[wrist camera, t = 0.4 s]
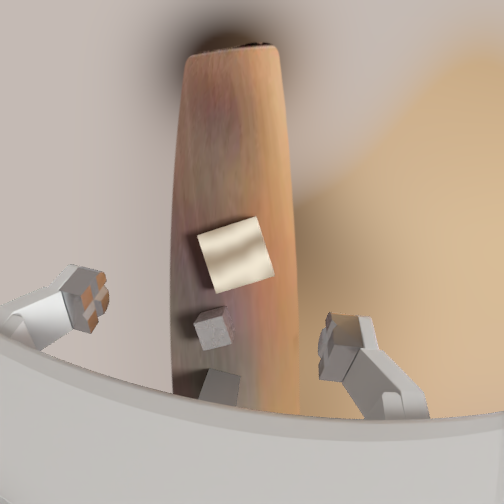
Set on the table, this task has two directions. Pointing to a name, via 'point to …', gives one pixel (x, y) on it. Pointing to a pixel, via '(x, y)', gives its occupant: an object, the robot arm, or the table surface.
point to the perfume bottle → (220, 388)
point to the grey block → (214, 328)
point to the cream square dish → (236, 255)
